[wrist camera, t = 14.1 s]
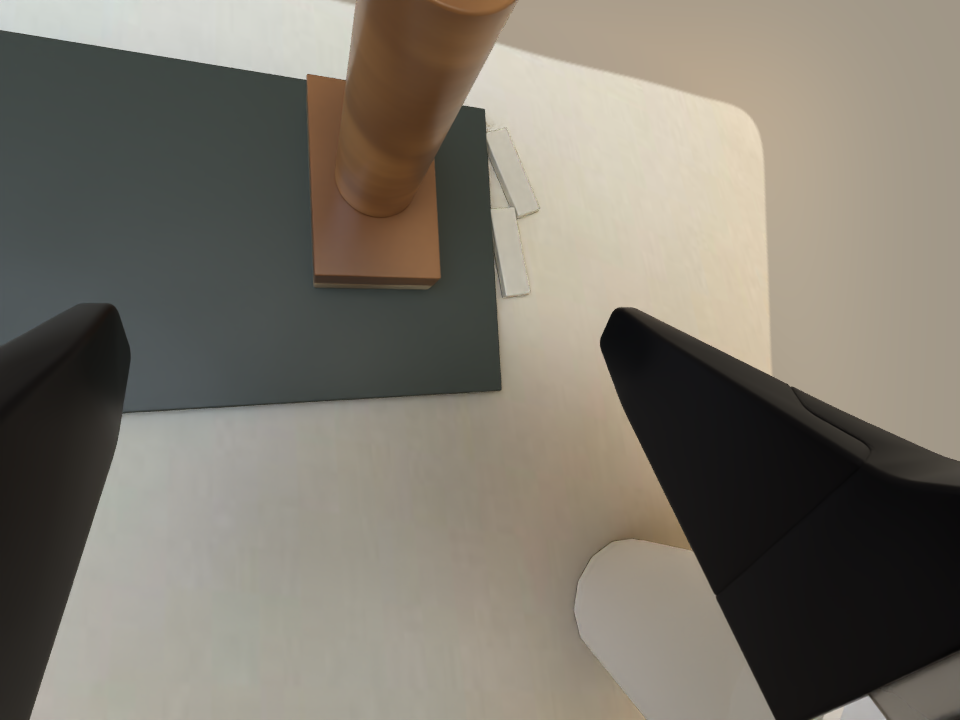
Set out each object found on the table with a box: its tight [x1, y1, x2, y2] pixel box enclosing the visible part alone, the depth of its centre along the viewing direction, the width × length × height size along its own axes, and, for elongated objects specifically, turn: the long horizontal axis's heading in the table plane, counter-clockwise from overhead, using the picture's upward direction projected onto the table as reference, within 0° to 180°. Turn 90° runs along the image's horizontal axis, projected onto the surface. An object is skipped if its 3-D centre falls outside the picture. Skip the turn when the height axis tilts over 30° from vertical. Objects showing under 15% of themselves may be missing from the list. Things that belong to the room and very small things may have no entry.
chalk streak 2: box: [491, 207, 530, 298], centre depth 24 cm, size 1×4×1 cm, turn 10°
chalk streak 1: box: [486, 128, 540, 219], centre depth 25 cm, size 1×4×1 cm, turn 25°
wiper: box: [307, 0, 518, 290], centre depth 15 cm, size 5×8×13 cm, turn 3°
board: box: [0, 30, 502, 413], centre depth 20 cm, size 22×14×1 cm, turn 93°
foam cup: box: [574, 538, 886, 720], centre depth 19 cm, size 10×9×13 cm
